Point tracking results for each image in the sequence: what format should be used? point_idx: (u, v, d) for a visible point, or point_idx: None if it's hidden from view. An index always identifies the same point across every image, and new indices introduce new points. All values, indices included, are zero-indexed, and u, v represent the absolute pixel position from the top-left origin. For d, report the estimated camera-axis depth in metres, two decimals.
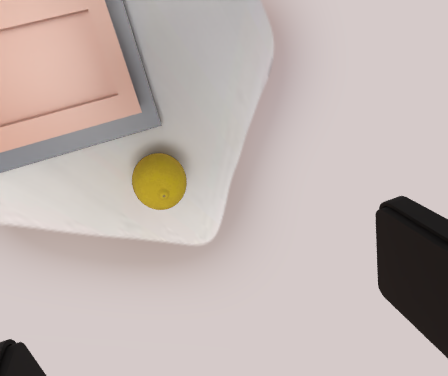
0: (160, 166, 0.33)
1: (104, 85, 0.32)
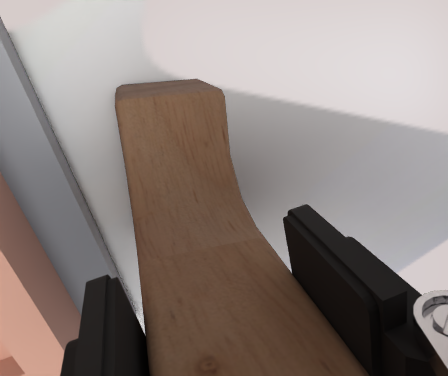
0: None
1: None
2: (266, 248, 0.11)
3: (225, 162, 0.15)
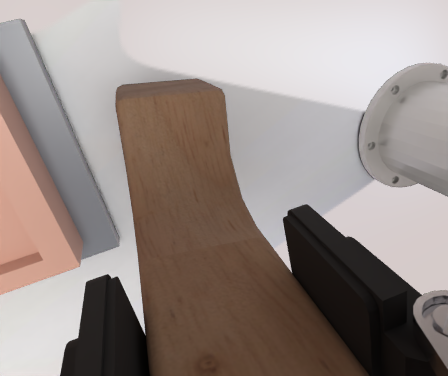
0: None
1: None
2: (266, 247, 0.11)
3: (225, 162, 0.15)
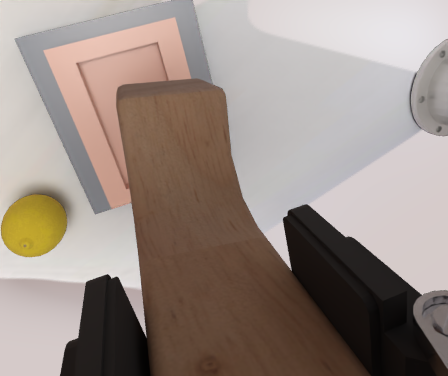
0: (57, 231, 0.32)
1: None
2: (268, 248, 0.11)
3: (226, 161, 0.15)
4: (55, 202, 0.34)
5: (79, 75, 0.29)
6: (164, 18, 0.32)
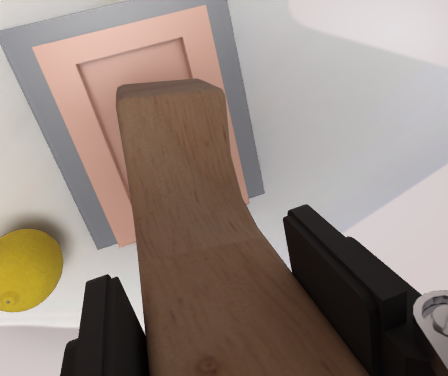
0: (51, 279, 0.25)
1: None
2: (267, 248, 0.11)
3: (226, 162, 0.15)
4: (48, 239, 0.27)
5: (80, 80, 0.22)
6: (188, 7, 0.25)
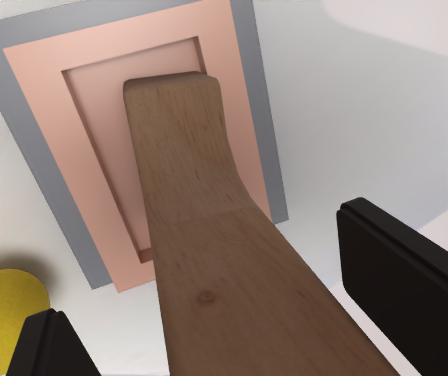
0: None
1: None
2: (259, 213, 0.13)
3: (223, 143, 0.16)
4: (31, 283, 0.22)
5: (67, 91, 0.17)
6: None
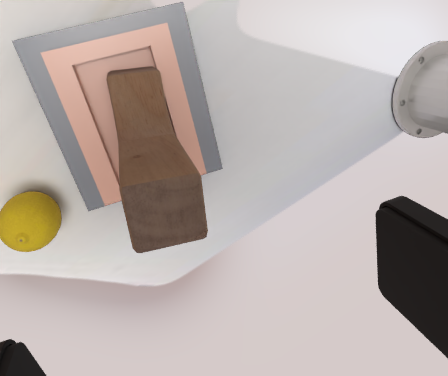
0: (52, 227, 0.34)
1: None
2: (173, 136, 0.26)
3: (162, 106, 0.30)
4: (50, 199, 0.35)
5: (75, 77, 0.30)
6: (157, 23, 0.34)
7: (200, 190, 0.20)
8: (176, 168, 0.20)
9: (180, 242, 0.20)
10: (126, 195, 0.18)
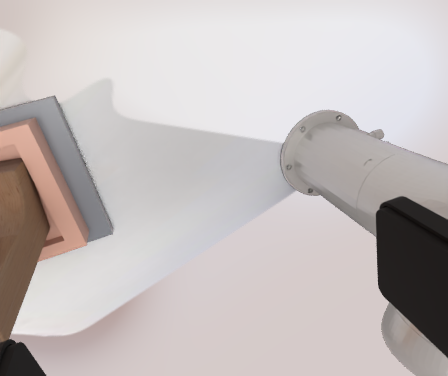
0: None
1: None
2: (12, 238, 0.30)
3: (19, 201, 0.33)
4: None
5: None
6: (29, 116, 0.37)
7: None
8: None
9: None
10: None
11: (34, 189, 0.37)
